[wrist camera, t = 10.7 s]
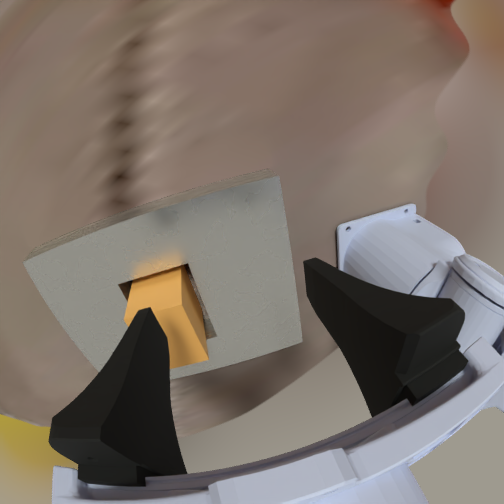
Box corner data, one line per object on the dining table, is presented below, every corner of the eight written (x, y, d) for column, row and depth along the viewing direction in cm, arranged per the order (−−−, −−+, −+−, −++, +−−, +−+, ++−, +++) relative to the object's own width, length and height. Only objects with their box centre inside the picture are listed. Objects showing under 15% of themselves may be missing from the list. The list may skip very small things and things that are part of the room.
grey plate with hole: (267, 168, 19) (278, 175, 17) (293, 325, 27) (302, 341, 25) (35, 247, 17) (22, 262, 15) (117, 371, 25) (114, 389, 23)
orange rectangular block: (181, 256, 21) (181, 304, 16) (201, 308, 24) (209, 359, 18) (135, 270, 20) (123, 319, 15) (160, 319, 23) (159, 371, 18)
